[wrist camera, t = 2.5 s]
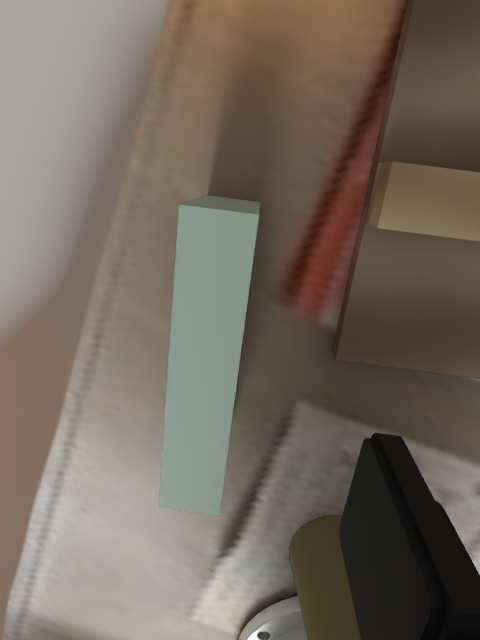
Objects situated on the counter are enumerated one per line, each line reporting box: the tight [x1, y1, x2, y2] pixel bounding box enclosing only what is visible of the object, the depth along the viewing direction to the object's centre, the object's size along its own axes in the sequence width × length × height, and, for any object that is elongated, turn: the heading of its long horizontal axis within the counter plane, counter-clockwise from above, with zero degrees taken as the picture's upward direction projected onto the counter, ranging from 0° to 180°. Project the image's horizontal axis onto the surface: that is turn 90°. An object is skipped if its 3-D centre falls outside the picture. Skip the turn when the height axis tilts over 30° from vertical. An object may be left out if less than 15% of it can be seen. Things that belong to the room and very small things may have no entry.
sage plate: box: [158, 195, 260, 516], centre depth 18 cm, size 12×2×7 cm, turn 173°
